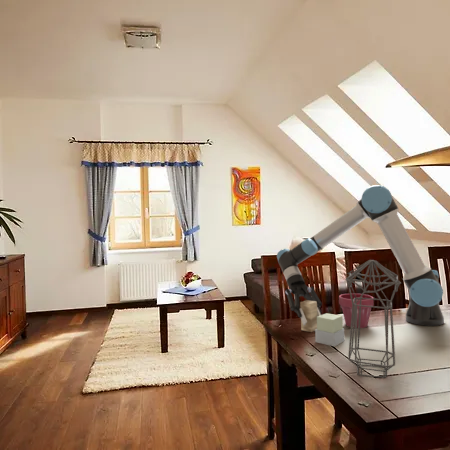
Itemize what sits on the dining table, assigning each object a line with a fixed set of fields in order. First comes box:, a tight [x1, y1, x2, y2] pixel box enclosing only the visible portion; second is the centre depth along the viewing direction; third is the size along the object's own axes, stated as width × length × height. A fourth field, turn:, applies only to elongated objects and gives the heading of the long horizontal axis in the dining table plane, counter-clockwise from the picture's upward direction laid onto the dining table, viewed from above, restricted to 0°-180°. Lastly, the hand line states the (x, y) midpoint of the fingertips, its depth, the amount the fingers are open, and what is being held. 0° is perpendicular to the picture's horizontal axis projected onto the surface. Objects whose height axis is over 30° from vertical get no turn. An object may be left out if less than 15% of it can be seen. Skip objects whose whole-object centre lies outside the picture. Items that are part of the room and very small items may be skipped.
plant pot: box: [338, 292, 375, 329], centre depth 166 cm, size 14×14×13 cm
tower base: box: [314, 327, 345, 347], centre depth 146 cm, size 8×8×5 cm
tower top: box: [317, 312, 344, 333], centre depth 146 cm, size 7×7×5 cm
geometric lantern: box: [345, 259, 402, 379], centre depth 117 cm, size 16×16×35 cm
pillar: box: [299, 299, 317, 333], centre depth 162 cm, size 5×5×12 cm
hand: (313, 322), depth 158 cm, fingers closed on pillar, 7 cm apart
